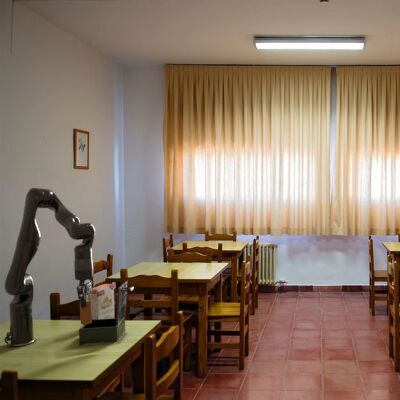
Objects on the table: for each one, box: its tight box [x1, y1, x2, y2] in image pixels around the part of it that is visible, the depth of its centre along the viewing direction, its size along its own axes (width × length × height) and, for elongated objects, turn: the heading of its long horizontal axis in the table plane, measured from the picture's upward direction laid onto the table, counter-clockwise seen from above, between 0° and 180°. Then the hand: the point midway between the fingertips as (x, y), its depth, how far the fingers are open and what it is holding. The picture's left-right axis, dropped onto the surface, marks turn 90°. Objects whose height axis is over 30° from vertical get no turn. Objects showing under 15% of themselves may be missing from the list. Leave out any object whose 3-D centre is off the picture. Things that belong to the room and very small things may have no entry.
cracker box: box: [90, 283, 115, 320], centre depth 262 cm, size 14×6×21 cm, turn 168°
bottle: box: [79, 295, 92, 326], centre depth 222 cm, size 5×5×12 cm
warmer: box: [78, 317, 126, 345], centre depth 240 cm, size 17×16×8 cm
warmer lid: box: [115, 280, 135, 326], centre depth 241 cm, size 18×16×5 cm
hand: (85, 305), depth 222 cm, fingers closed on bottle, 4 cm apart
